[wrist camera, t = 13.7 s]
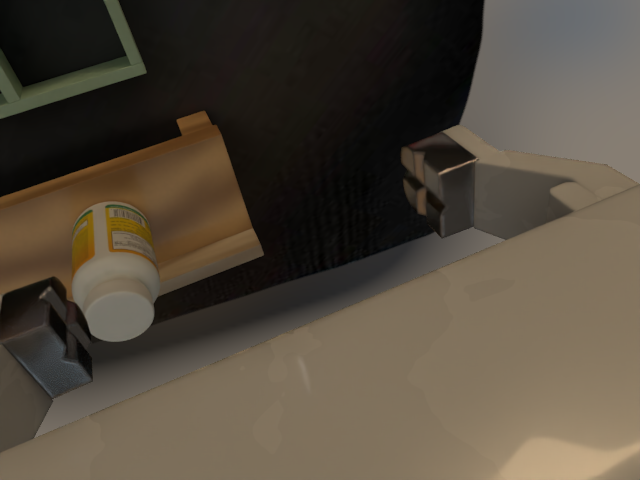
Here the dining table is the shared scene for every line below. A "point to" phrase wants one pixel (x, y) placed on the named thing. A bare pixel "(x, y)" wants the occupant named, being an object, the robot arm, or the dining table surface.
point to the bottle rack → (71, 74)
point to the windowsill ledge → (149, 198)
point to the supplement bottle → (114, 270)
